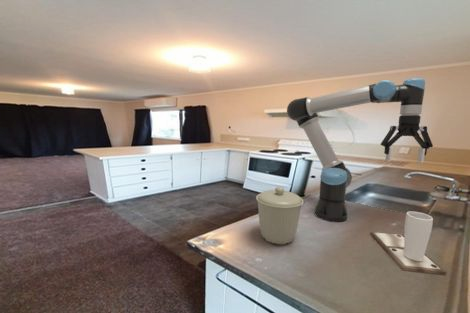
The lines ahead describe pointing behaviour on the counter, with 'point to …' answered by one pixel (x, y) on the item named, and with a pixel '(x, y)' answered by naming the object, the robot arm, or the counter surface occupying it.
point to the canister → (279, 215)
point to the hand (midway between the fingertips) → (403, 161)
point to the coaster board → (395, 250)
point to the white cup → (416, 235)
